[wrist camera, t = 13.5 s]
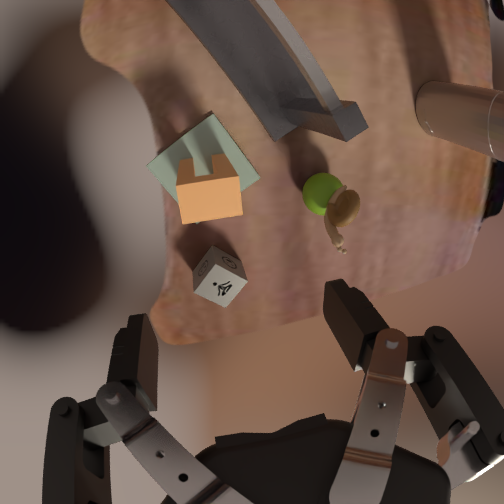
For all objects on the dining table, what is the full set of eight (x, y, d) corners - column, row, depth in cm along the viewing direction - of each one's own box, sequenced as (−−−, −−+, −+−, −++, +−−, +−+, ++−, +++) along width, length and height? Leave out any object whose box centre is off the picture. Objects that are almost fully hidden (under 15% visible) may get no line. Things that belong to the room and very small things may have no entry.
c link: (224, 153, 34) (238, 176, 25) (227, 181, 36) (242, 214, 27) (179, 160, 34) (175, 185, 24) (184, 188, 35) (182, 224, 26)
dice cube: (221, 286, 44) (225, 307, 40) (192, 271, 42) (193, 292, 38) (241, 261, 43) (247, 281, 38) (212, 244, 40) (215, 264, 36)
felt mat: (212, 113, 32) (213, 113, 32) (259, 177, 37) (260, 178, 37) (146, 165, 33) (146, 166, 33) (196, 223, 38) (196, 224, 38)
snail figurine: (286, 204, 40) (321, 246, 29) (308, 161, 37) (353, 190, 27) (318, 217, 41) (359, 261, 31) (339, 178, 39) (389, 210, 29)
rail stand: (208, -47, 21) (222, -112, 8) (323, 107, 34) (395, 120, 21) (150, -16, 22) (131, -74, 9) (272, 140, 35) (323, 168, 22)
